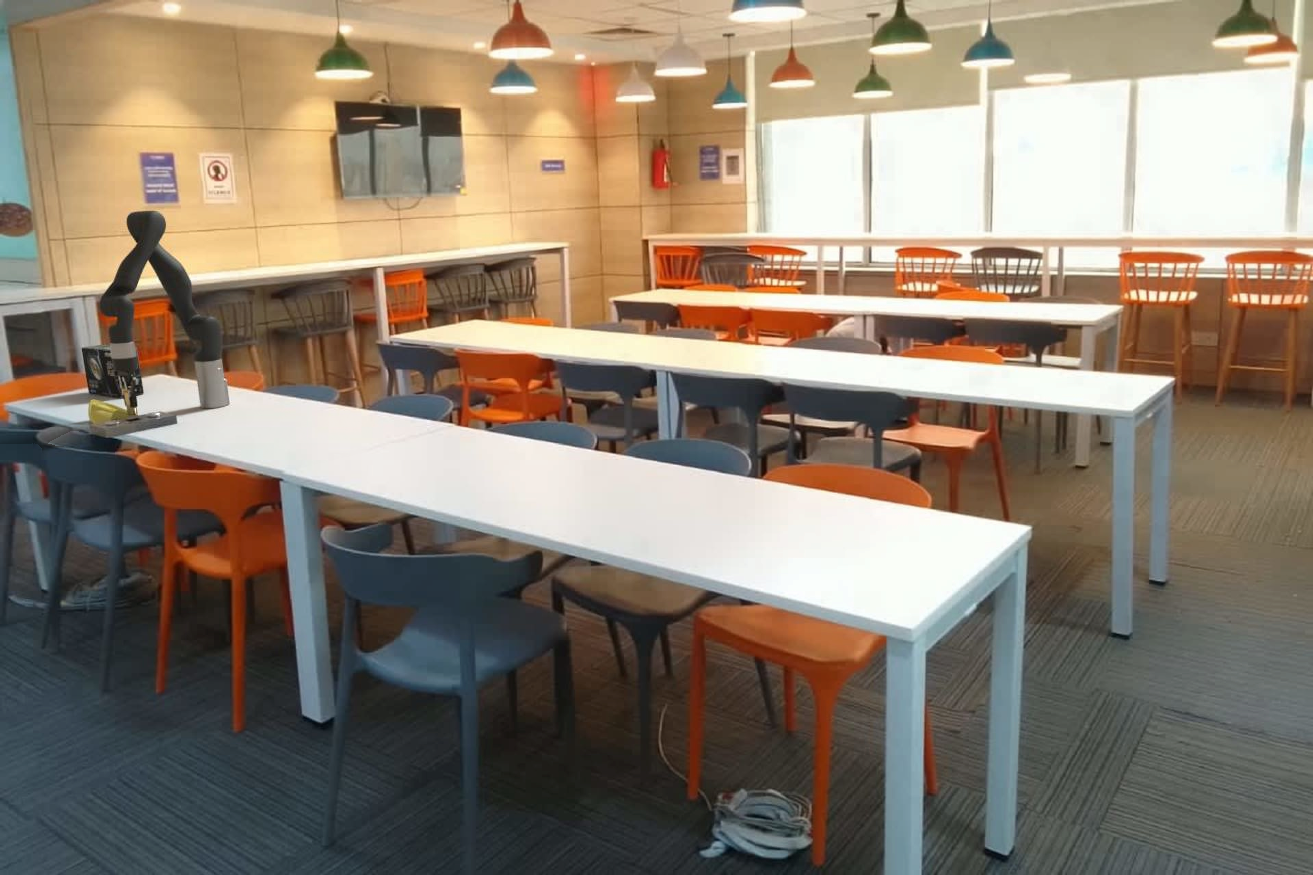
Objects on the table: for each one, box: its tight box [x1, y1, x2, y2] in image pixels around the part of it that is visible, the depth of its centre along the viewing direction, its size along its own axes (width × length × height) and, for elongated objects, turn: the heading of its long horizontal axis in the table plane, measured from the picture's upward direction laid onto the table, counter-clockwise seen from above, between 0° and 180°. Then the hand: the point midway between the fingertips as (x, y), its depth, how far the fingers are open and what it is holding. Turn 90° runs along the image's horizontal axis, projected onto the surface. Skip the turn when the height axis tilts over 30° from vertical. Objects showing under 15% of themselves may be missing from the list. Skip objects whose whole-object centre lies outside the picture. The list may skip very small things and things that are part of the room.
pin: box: [122, 388, 138, 415], centre depth 352 cm, size 4×4×9 cm
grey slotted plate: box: [89, 410, 178, 439], centre depth 354 cm, size 24×11×4 cm, turn 142°
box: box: [80, 344, 145, 399], centre depth 414 cm, size 23×10×19 cm, turn 57°
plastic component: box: [87, 399, 139, 424], centre depth 366 cm, size 20×7×10 cm
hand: (131, 406), depth 353 cm, fingers closed on pin, 3 cm apart
